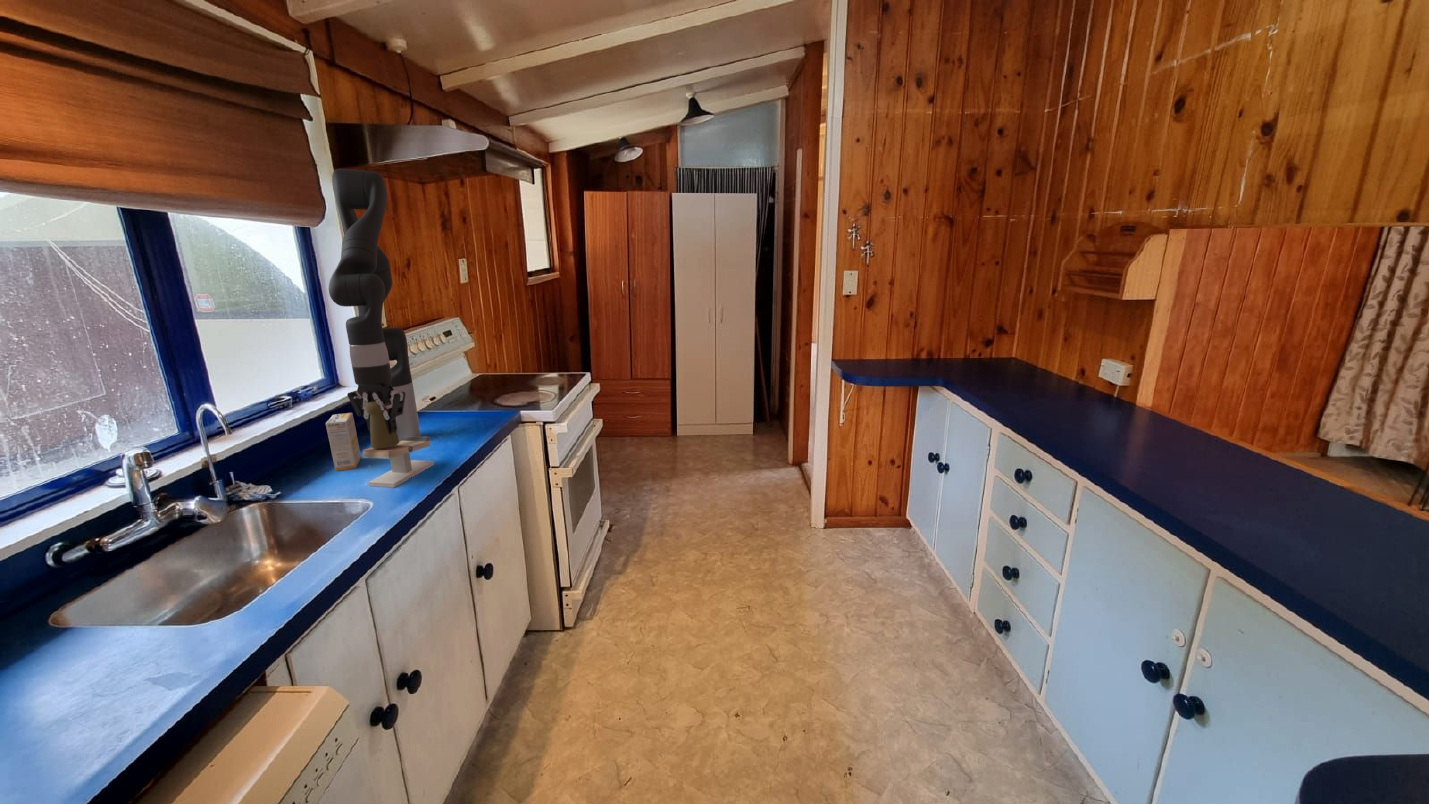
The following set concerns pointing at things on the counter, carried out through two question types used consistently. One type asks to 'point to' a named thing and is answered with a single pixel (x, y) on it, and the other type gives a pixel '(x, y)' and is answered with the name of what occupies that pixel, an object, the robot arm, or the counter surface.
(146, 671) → the counter surface
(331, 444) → the supplement box
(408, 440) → the seesaw
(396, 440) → the cork
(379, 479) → the seesaw stand
